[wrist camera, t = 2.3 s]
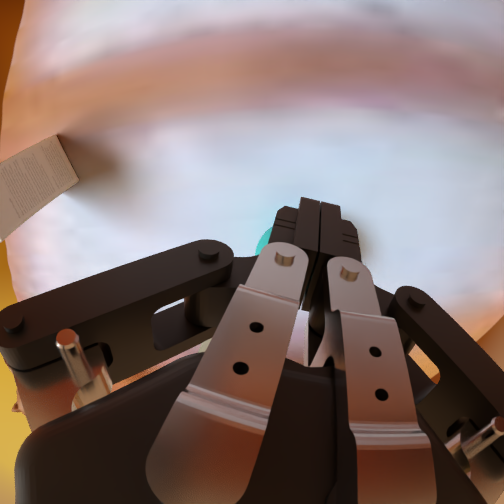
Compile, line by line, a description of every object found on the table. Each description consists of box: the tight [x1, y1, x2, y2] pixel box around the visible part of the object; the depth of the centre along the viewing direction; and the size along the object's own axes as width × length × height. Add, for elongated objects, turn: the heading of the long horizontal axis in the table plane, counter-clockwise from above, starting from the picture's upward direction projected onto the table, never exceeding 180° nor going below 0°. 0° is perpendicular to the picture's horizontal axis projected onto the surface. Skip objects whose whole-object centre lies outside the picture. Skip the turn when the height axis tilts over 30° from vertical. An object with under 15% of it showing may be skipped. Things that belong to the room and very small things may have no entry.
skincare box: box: [0, 135, 79, 242], centre depth 25 cm, size 6×4×12 cm
